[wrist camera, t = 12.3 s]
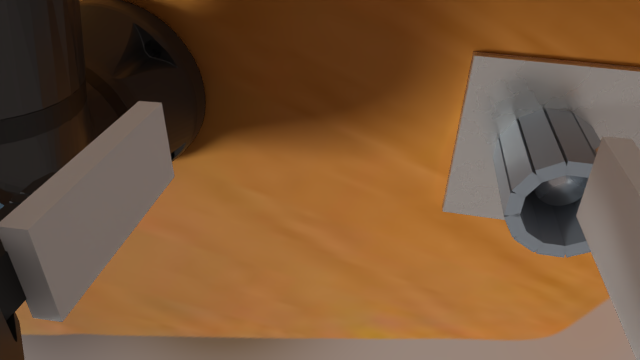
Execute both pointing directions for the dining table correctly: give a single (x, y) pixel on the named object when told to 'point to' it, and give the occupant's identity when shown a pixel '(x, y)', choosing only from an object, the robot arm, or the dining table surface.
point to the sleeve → (544, 178)
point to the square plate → (524, 98)
